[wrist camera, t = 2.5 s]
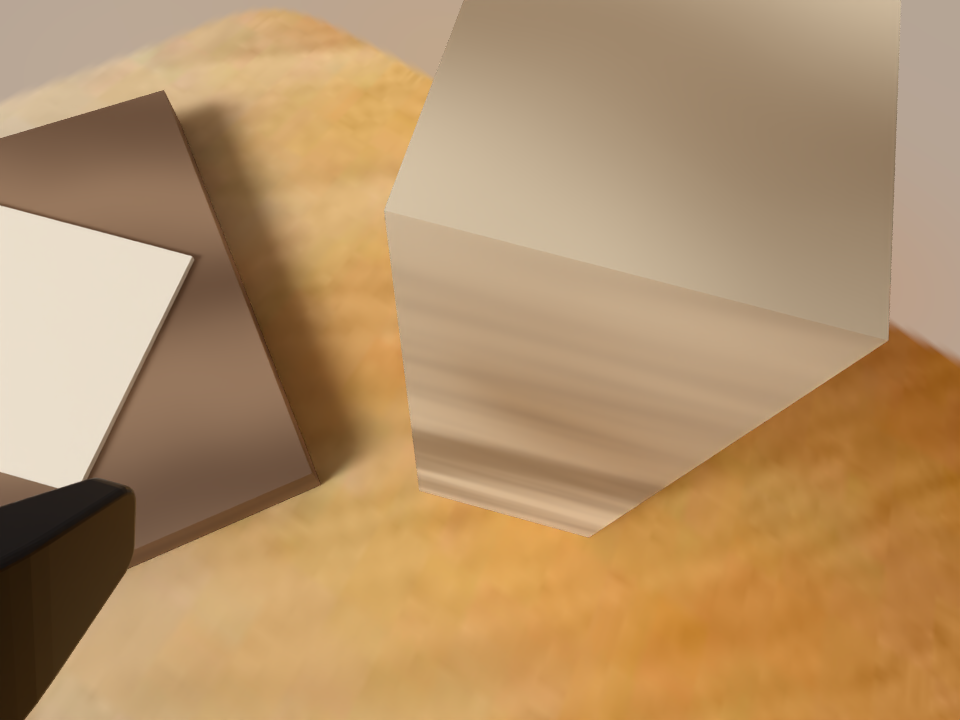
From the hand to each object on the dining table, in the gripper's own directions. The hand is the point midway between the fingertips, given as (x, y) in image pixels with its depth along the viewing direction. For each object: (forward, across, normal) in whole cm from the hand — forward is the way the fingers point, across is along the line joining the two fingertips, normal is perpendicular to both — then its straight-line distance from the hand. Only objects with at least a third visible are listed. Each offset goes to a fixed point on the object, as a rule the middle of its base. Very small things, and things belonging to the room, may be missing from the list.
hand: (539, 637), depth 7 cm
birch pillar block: (+13, 0, +4) cm, 13 cm away
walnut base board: (+12, +14, +6) cm, 19 cm away
